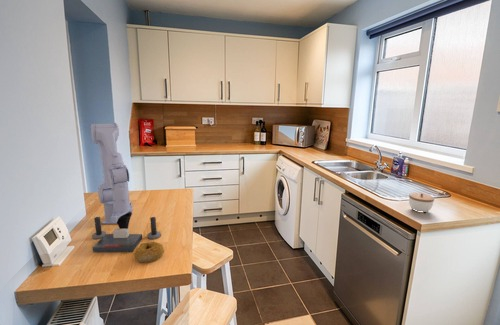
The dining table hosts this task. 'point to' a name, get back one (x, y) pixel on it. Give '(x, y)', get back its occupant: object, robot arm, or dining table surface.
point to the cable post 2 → (153, 229)
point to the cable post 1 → (98, 229)
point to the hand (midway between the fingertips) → (124, 231)
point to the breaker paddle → (120, 233)
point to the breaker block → (117, 243)
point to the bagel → (149, 252)
